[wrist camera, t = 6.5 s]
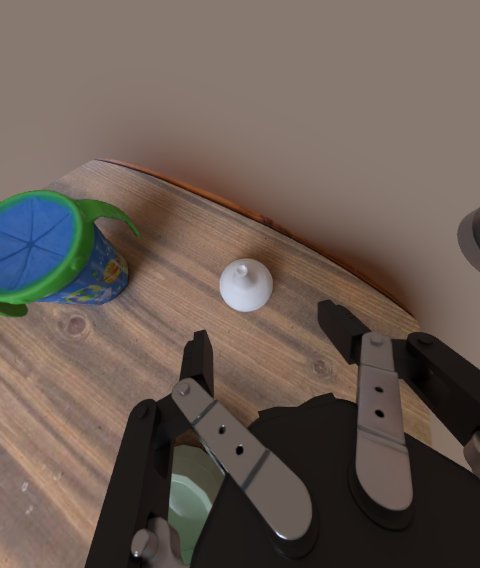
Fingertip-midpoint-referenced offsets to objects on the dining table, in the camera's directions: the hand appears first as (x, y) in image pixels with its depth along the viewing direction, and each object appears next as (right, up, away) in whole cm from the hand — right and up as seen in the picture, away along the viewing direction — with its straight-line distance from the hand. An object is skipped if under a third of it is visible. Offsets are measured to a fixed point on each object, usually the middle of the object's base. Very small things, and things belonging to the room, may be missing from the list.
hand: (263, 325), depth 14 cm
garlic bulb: (-1, +2, +11) cm, 12 cm away
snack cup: (-20, +4, +13) cm, 24 cm away
